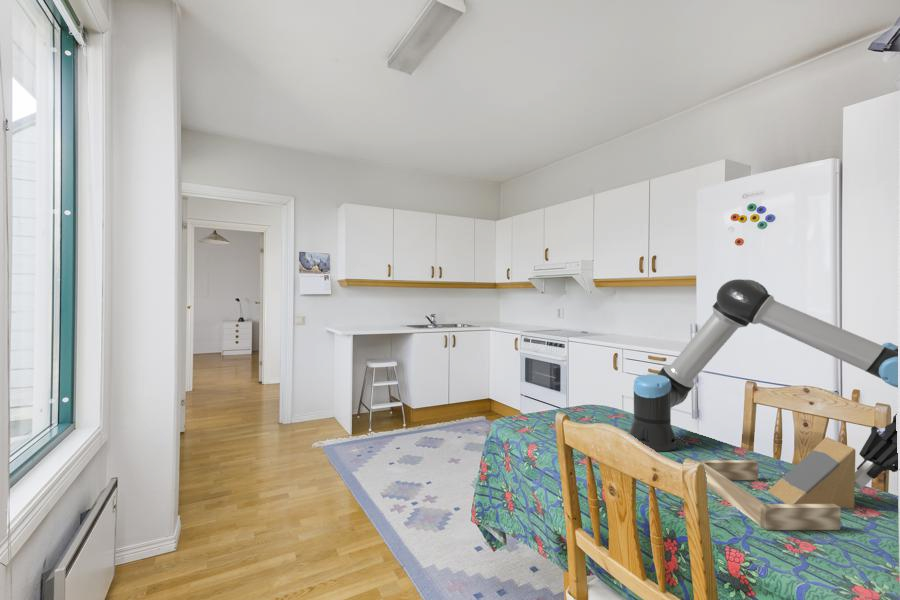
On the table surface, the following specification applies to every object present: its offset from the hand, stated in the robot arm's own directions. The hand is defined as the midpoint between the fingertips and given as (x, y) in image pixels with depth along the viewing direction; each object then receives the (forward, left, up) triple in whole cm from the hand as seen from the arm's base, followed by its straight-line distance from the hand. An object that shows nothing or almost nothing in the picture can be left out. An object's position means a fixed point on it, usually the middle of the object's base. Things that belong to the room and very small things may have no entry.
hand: (855, 483), depth 105 cm
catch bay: (0, -25, -4) cm, 25 cm away
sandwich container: (-1, -11, -5) cm, 12 cm away
